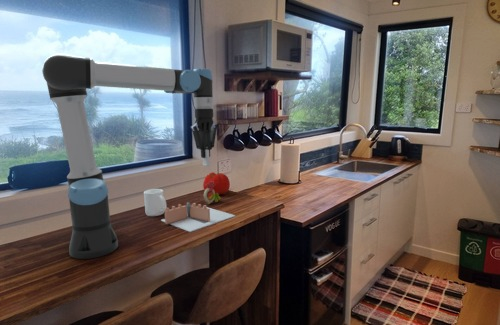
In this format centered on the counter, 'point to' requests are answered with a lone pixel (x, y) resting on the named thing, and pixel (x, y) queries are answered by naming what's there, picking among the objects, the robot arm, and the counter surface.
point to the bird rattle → (211, 193)
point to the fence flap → (199, 212)
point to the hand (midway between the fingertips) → (206, 165)
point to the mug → (154, 202)
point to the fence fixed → (177, 213)
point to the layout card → (201, 221)
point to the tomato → (217, 182)
